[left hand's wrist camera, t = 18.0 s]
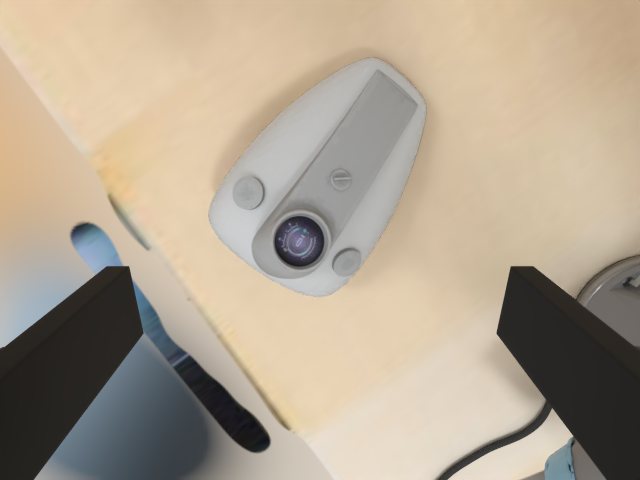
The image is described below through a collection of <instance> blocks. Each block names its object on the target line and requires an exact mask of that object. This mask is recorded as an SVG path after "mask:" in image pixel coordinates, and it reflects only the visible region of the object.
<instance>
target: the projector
mask: <svg viewBox="0 0 640 480" xmlns="http://www.w3.org/2000/svg"><path fill="white" fill-rule="evenodd" d="M426 110H427V109H426V103H425V100H424V99H423V97H422V95H421V94H420V93H419V91H418V90H417V89H416V88H415V87H414V86H413V85H412V83H411V82H409V81H408V80H407V79H406V78H405V77H404V76H403V75H402V74H401V73H399V72H398V71H397V70H396V69H395V68H393V67H392V66H391V65H389V64H388V63H386V62H384V61H382V60H380V59H378V58H372V57H371V58H364V59H361V60H358V61H356V62H353V63H351V64H349V65H347V66H345V67H344V68H342V69H340V70H338V71H336V72H335V73H333V74H332V75H330V76H328V77H327V78H325V79H324V80H322V81H321V82H319V83H318V84H316V85H315V86H314V87H312V88H311V89H309V90H308V91H307V92H305V93H304V94H303V95H302V96H300V97H299V98H298V99H296V100H295V101H294V102H293V103H292V104H290V105H289V106H288V107H287V108H286V109H285V110H283V111H282V112H281V113H280V114H279V115H278V116H277V117H276V118H275V119H274V120H273V121H272V122H271V123H270V124H269V125H268V126H267V127H266V128H265V129H264V130H263V131H262V132H261V133H260V134H259V135H258V136H257V138H256V139H255V140H254V141H253V142H252V143H251V144H250V145H249V147H248V148H247V149H246V150H245V152H244V153H243V154H242V155H241V157H240V158H239V159H238V160H237V162H236V163H235V164H234V166H233V167H232V168H231V170H230V171H229V173H228V174H227V176H226V177H225V178H224V180H223V182H222V183H221V185H220V186H219V188H218V190H217V192H216V194H215V195H214V197H213V200H212V202H211V204H210V208H209V221H210V224H211V227H212V228H213V230H214V232H215V233H216V235H217V236H218V238H219V239H220V240H221V241H222V242H223V243H224V244H225V245H226V246H227V247H228V248H229V249H230V250H231V251H232V252H233V253H234V254H236V255H237V256H238V257H239V258H241V259H242V260H243V261H244V262H246V263H247V264H248V265H249V266H251V267H252V268H254V269H255V270H257V271H258V272H260V273H261V274H263V275H264V276H266V277H267V278H269V279H271V280H272V281H274V282H276V283H278V284H280V285H282V286H284V287H286V288H288V289H290V290H293V291H295V292H298V293H300V294H304V295H307V296H312V297H324V296H328V295H330V294H332V293H334V292H336V291H337V290H339V289H340V288H341V287H342V286H344V285H345V284H346V283H347V282H348V281H349V280H350V279H351V278H352V277H353V275H354V274H355V273H356V272H357V270H358V269H359V268H360V267H361V266H362V264H363V263H364V261H365V260H366V259H367V257H368V256H369V254H370V253H371V251H372V250H373V248H374V247H375V245H376V243H377V242H378V240H379V239H380V237H381V235H382V233H383V231H384V230H385V228H386V226H387V224H388V222H389V220H390V218H391V216H392V214H393V212H394V210H395V208H396V206H397V204H398V202H399V200H400V197H401V195H402V193H403V190H404V188H405V185H406V183H407V180H408V177H409V175H410V172H411V169H412V166H413V163H414V160H415V157H416V154H417V151H418V147H419V144H420V141H421V137H422V133H423V129H424V124H425V119H426Z"/></svg>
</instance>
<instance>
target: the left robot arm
mask: <svg viewBox="0 0 640 480" xmlns="http://www.w3.org/2000/svg"><path fill="white" fill-rule="evenodd" d="M142 335H143V329H142V324H141V319H140V315H139V310H138V305H137V301H136V296H135V291H134V287H133V282H132V278H131V273H130V268H129V266H107V267H105V268H104V269H103V270H102V271H100V272H99V273H98V274H97V275H95V276H94V277H93V278H91V279H90V280H89V281H88V282H86V283H85V284H84V285H83V286H81V287H80V288H79V289H78V290H76V291H75V292H74V293H72V294H71V295H70V296H69V297H67V298H66V299H65V300H64V301H62V302H61V303H60V304H59V305H57V306H56V307H55V308H53V309H52V310H51V311H50V312H48V313H47V314H46V315H45V316H43V317H42V318H41V319H40V320H38V321H37V322H36V323H35V324H33V325H32V326H31V327H29V328H28V329H27V330H26V331H24V332H23V333H22V334H20V335H19V336H18V337H17V338H15V339H14V340H13V341H12V342H10V343H9V344H8V345H7V346H5V347H2V348H0V480H34V479H35V477H36V476H37V475H38V473H39V472H40V471H41V469H42V468H43V467H44V465H45V464H46V463H47V461H48V460H49V459H50V457H51V456H52V455H53V453H54V452H55V451H56V449H57V448H58V447H59V445H60V444H61V443H62V441H63V440H64V439H65V437H66V436H67V435H68V433H69V432H70V431H71V429H72V428H73V427H74V425H75V424H76V423H77V421H78V420H79V419H80V417H81V416H82V415H83V413H84V412H85V411H86V409H87V408H88V407H89V405H90V404H91V403H92V401H93V400H94V399H95V397H96V396H97V395H98V393H99V392H100V391H101V389H102V388H103V387H104V385H105V384H106V383H107V381H108V380H109V379H110V377H111V376H112V375H113V373H114V372H115V371H116V369H117V368H118V367H119V365H120V364H121V363H122V361H123V360H124V359H125V357H126V356H127V355H128V353H129V352H130V351H131V349H132V348H133V347H134V345H135V344H136V343H137V341H138V340H139V339H140V337H141V336H142ZM497 335H498V336H499V337H500V339H501V340H502V341H503V343H504V344H505V345H506V347H507V348H508V349H509V351H510V352H511V353H512V355H513V356H514V357H515V359H516V360H517V361H518V363H519V364H520V365H521V367H522V368H523V369H524V371H525V372H526V373H527V375H528V376H529V377H530V379H531V380H532V381H533V383H534V384H535V385H536V387H537V388H538V389H539V391H540V392H541V393H542V395H543V396H544V397H545V399H546V400H547V402H546V404H545V406H544V408H543V410H542V412H541V414H540V415H539V417H538V418H537V419H536V420H535V421H534V422H533V423H532V424H531V425H529V426H528V427H527V428H525V429H524V430H522V431H520V432H518V433H516V434H514V435H512V436H509V437H507V438H504V439H502V440H499V441H497V442H494V443H492V444H490V445H488V446H486V447H484V448H482V449H480V450H478V451H477V452H475V453H473V454H472V455H470V456H468V457H467V458H465V459H463V460H462V461H460V462H459V463H457V464H456V465H454V466H453V467H451V468H450V469H449V470H448V471H446V472H445V473H444V474H443V475H442V476H441V477H440V478H439V479H438V480H448V479H449V478H450V477H451V476H452V475H453V474H455V473H456V472H457V471H459V470H460V469H462V468H463V467H465V466H467V465H468V464H470V463H472V462H473V461H475V460H477V459H478V458H480V457H482V456H484V455H485V454H487V453H489V452H491V451H493V450H496V449H498V448H500V447H503V446H506V445H508V444H511V443H513V442H516V441H518V440H520V439H522V438H524V437H526V436H528V435H529V434H531V433H532V432H534V431H535V430H536V429H537V428H539V427H540V426H541V425H542V423H543V422H544V421H545V420H546V418H547V417H548V415H549V413H550V411H551V409H552V408H553V409H554V411H555V412H556V413H557V415H558V416H559V417H560V419H561V420H562V421H563V423H564V424H565V425H566V427H567V428H568V429H569V431H570V432H571V433H572V435H573V437H572V438H570V440H569V441H568V443H567V444H566V445H565V446H563V447H562V448H560V449H559V450H557V451H556V452H555V453H553V454H552V455H551V456H550V457H549V458H548V459H547V461H546V463H545V470H544V471H545V480H640V256H635V257H631V258H628V259H625V260H622V261H620V262H618V263H615V264H614V265H612V266H610V267H608V268H607V269H605V270H603V271H602V272H601V273H599V274H598V275H597V276H596V277H594V278H593V279H592V280H591V281H590V282H589V283H588V284H587V285H586V287H585V288H584V289H583V290H582V292H581V293H580V295H579V296H578V298H577V300H575V299H574V298H573V297H571V296H570V295H569V294H568V293H566V292H565V291H564V290H562V289H561V288H560V287H559V286H557V285H556V284H555V283H554V282H552V281H551V280H550V279H549V278H547V277H546V276H545V275H543V274H542V273H541V272H540V271H538V270H537V269H536V268H535V267H533V266H511V268H510V273H509V278H508V282H507V287H506V291H505V296H504V301H503V305H502V310H501V315H500V319H499V324H498V329H497Z"/></svg>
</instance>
